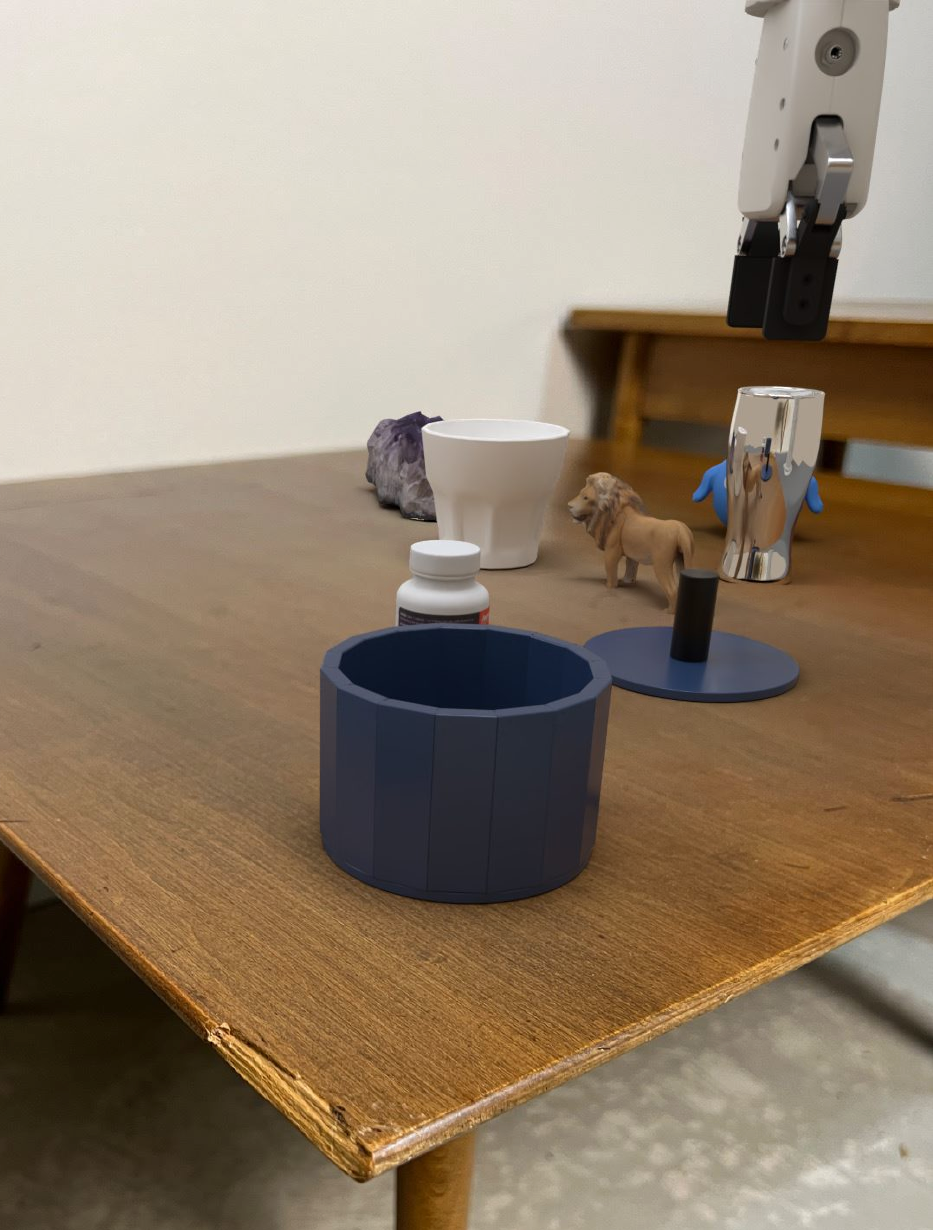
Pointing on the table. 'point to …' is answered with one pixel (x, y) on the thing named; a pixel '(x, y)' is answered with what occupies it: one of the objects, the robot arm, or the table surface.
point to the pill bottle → (443, 585)
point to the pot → (461, 760)
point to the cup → (494, 483)
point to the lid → (694, 653)
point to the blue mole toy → (717, 484)
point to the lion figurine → (632, 533)
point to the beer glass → (768, 480)
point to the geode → (401, 465)
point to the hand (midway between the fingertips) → (771, 333)
